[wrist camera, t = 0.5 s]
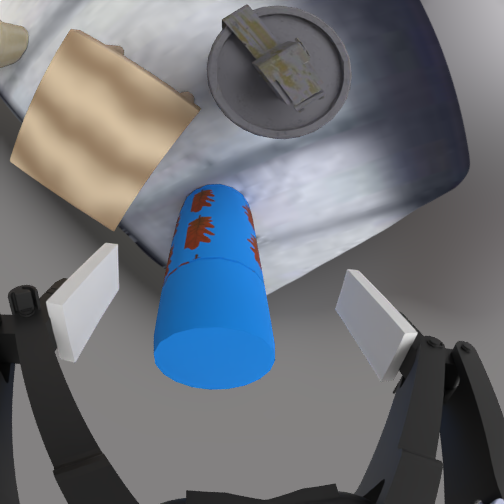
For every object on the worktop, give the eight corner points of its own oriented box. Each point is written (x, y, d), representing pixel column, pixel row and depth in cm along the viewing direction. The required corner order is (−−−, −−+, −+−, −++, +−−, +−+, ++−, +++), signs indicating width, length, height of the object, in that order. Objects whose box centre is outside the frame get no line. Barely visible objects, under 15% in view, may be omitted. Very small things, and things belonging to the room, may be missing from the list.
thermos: (173, 235, 45) (146, 379, 25) (190, 174, 39) (158, 312, 19) (238, 251, 48) (251, 394, 28) (262, 195, 42) (299, 337, 22)
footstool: (113, 35, 25) (70, 29, 16) (207, 97, 33) (199, 111, 23) (56, 131, 32) (9, 161, 22) (139, 186, 39) (113, 231, 29)
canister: (312, 79, 32) (392, 101, 16) (247, 121, 35) (270, 178, 19) (264, 15, 26) (306, -31, 10) (195, 60, 29) (164, 54, 13)
